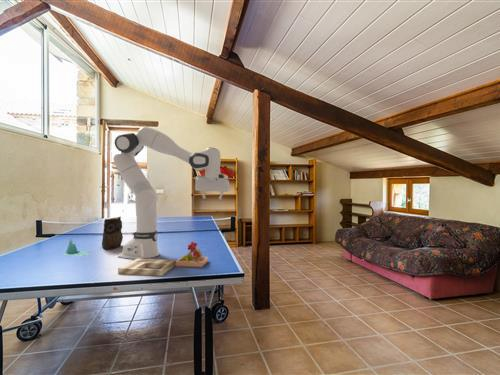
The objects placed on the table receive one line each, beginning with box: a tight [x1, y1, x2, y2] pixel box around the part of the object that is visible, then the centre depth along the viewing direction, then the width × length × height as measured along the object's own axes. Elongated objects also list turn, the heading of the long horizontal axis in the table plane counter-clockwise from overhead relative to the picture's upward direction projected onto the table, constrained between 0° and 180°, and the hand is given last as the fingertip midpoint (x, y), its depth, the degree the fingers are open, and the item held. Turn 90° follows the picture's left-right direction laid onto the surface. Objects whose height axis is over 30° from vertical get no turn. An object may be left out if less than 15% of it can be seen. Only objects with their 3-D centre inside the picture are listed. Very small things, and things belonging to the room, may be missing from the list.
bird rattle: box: [183, 241, 203, 262], centre depth 142 cm, size 6×11×9 cm
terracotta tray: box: [174, 255, 209, 269], centre depth 140 cm, size 14×11×2 cm
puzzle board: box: [117, 258, 177, 277], centre depth 131 cm, size 21×17×3 cm
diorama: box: [62, 238, 92, 257], centre depth 160 cm, size 12×20×9 cm, turn 76°
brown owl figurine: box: [101, 216, 124, 251], centre depth 175 cm, size 13×13×20 cm
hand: (211, 199), depth 156 cm, fingers open, 8 cm apart
